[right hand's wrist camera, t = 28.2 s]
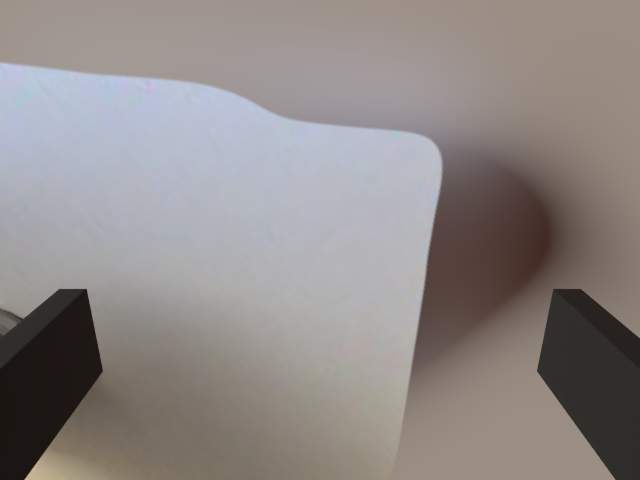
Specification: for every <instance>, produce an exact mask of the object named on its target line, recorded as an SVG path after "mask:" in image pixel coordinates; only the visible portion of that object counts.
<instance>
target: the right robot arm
mask: <svg viewBox="0 0 640 480" xmlns="http://www.w3.org/2000/svg"><path fill="white" fill-rule="evenodd" d="M102 372H103V369H102V364H101V359H100V354H99V349H98V344H97V339H96V334H95V329H94V324H93V319H92V314H91V309H90V304H89V299H88V294H87V289H59V290H58V291H56V292H55V293H54V294H53V295H52V296H50V297H49V298H48V299H47V300H46V301H44V302H43V303H42V304H41V305H40V306H38V307H37V308H36V309H35V310H34V311H33V312H31V313H30V314H29V315H28V316H27V317H25V318H24V319H23V320H22V321H21V320H20V319H18V318H17V317H15V316H13V315H11V314H9V313H7V312H5V311H3V310H0V480H24V479H25V478H26V477H27V475H28V474H29V473H30V471H31V470H32V468H33V467H34V466H35V464H36V463H37V461H38V460H39V459H40V457H41V456H42V455H43V453H44V452H45V450H46V449H47V448H48V446H49V445H50V444H51V442H52V441H53V439H54V438H55V437H56V435H57V434H58V432H59V431H60V430H61V428H62V427H63V426H64V424H65V423H66V421H67V420H68V419H69V417H70V416H71V415H72V413H73V412H74V410H75V409H76V408H77V406H78V405H79V403H80V402H81V401H82V399H83V398H84V397H85V395H86V394H87V392H88V391H89V390H90V388H91V387H92V386H93V384H94V383H95V381H96V380H97V379H98V377H99V376H100V374H101V373H102ZM537 372H538V373H539V374H540V376H541V377H542V379H543V380H544V381H545V383H546V384H547V386H548V387H549V388H550V390H551V391H552V392H553V394H554V395H555V397H556V398H557V399H558V401H559V402H560V403H561V405H562V406H563V408H564V409H565V410H566V412H567V413H568V415H569V416H570V417H571V419H572V420H573V421H574V423H575V424H576V425H577V427H578V428H579V430H580V431H581V432H582V434H583V435H584V437H585V438H586V439H587V441H588V442H589V444H590V445H591V446H592V448H593V449H594V450H595V452H596V453H597V455H598V456H599V457H600V459H601V460H602V461H603V463H604V464H605V466H606V467H607V468H608V470H609V471H610V473H611V474H612V475H613V477H614V478H615V479H616V480H640V338H639V337H637V336H636V335H635V334H634V333H632V332H631V331H630V330H629V329H628V328H627V327H625V326H624V325H623V324H622V323H621V322H619V321H618V320H617V319H616V318H615V317H613V316H612V315H611V314H610V313H609V312H607V311H606V310H605V309H604V308H603V307H601V306H600V305H599V304H598V303H597V302H595V301H594V300H593V299H592V298H591V297H590V296H588V295H587V294H586V293H585V292H584V291H582V290H581V289H553V294H552V299H551V304H550V309H549V314H548V319H547V324H546V329H545V334H544V339H543V344H542V349H541V354H540V359H539V364H538V369H537Z"/></svg>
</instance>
